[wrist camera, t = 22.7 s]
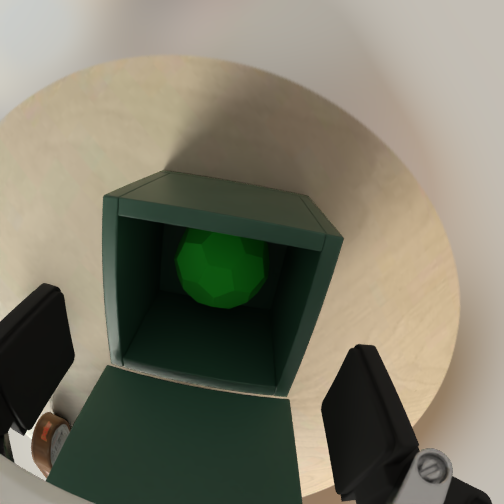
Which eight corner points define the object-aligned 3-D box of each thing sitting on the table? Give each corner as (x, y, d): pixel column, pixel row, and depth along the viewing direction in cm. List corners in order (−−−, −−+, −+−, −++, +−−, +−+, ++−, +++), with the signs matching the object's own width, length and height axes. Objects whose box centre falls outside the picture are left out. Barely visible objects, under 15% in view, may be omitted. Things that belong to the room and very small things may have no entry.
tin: (47, 400, 26) (20, 447, 19) (68, 410, 27) (42, 460, 19) (68, 450, 32) (52, 488, 24) (85, 458, 32) (70, 497, 24)
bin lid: (30, 514, 4) (75, 545, 6) (310, 572, 4) (269, 583, 6) (107, 364, 12) (118, 426, 14) (290, 398, 13) (265, 454, 14)
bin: (162, 170, 17) (102, 194, 10) (308, 196, 17) (344, 237, 10) (153, 291, 20) (110, 364, 13) (277, 313, 20) (287, 397, 13)
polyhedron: (247, 190, 17) (245, 210, 12) (280, 263, 18) (288, 305, 14) (171, 225, 17) (145, 255, 13) (208, 291, 19) (195, 337, 15)
